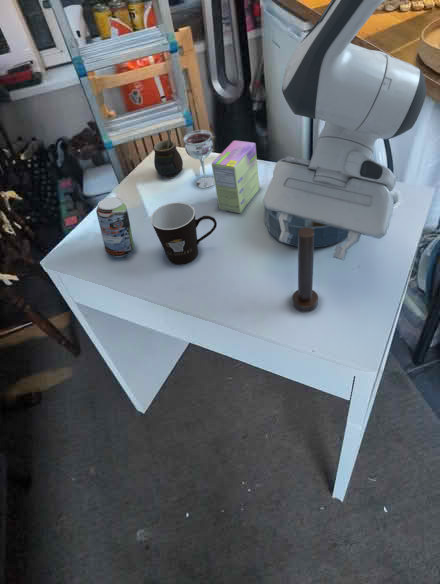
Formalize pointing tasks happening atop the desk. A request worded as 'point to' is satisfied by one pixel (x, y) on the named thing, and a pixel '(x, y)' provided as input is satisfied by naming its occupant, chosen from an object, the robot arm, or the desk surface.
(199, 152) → the wineglass
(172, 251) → the coffee mug
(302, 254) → the tall rod on disc
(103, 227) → the beverage can
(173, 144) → the mate gourd
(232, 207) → the box
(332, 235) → the bowl
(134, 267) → the desk surface
